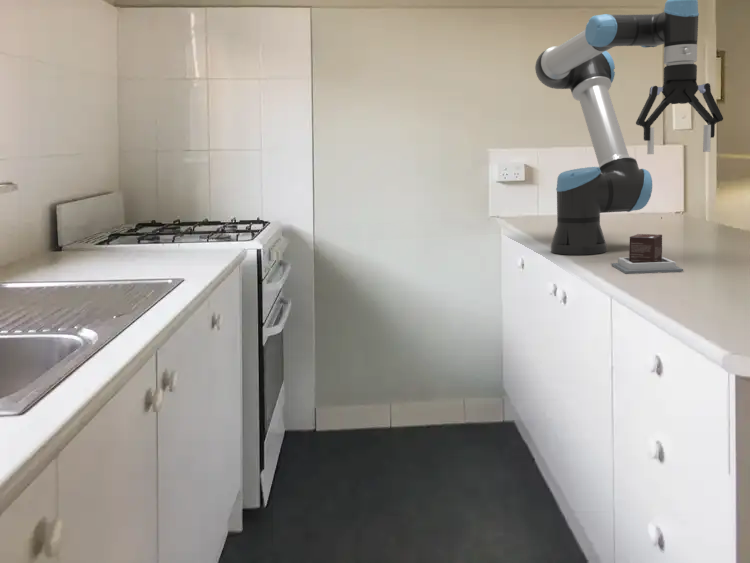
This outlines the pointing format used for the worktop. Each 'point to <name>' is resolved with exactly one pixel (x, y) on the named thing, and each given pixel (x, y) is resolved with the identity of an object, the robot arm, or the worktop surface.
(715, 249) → the worktop surface
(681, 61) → the robot arm
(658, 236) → the box
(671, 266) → the grey and white frame
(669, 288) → the worktop surface
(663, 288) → the worktop surface
